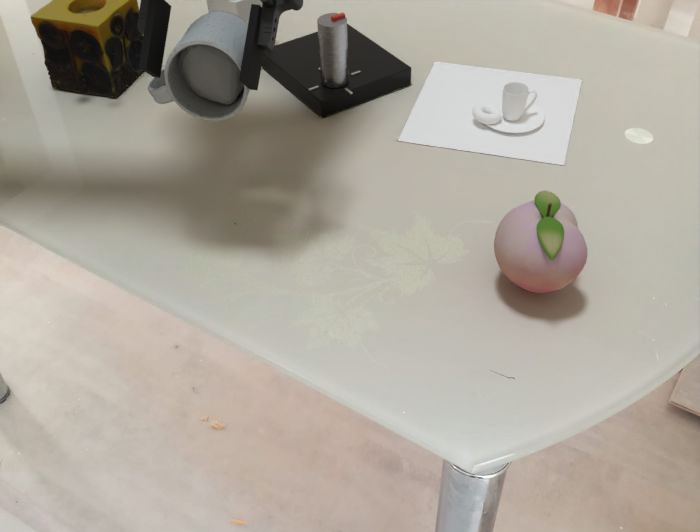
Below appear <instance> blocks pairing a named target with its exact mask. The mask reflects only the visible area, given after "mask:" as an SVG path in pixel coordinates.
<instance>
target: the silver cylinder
mask: <svg viewBox="0 0 700 532" xmlns="http://www.w3.org/2000/svg"><path fill="white" fill-rule="evenodd" d="M316 24H317V32H318V42H319V57H320V73H321V83H322V84H323V85H324V86H326V87H329V88H339V87H343V86H345V85H346V84H347V83H348V82H349V67H348V38H347V24H348V18H347V17H346V14H345V12H340V13H338V12H329V13H328V12H327V13H324V14H321V15H320V16H318V17H317V20H316Z"/></svg>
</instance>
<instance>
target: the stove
mask: <svg viewBox="0 0 700 532" xmlns="http://www.w3.org/2000/svg"><path fill="white" fill-rule="evenodd" d="M347 38H348V67H349V82H348V83H347V84H346V85H345V86H343V87H339V88H329V87H326V86H324V85H323V84H322V83H321V73H320V57H319V42H318V31H315V32H312V33H309V34H305V35H302V36H299V37H297V38H294V39H290V40H287V41H284V42H282V43H279V44H275V46H274V48H273V50H272V51H266V50H264V54H263V60H262V66H261V69H263V70H264V71H265V72H266V73H268V74H269V75H270V76H271V77H272V78H273V79H275V80H276V81H277V82H278V83H280V85H282V86H283V87H284V88H285V89H286V90H287V91H289V92H290V94H292V95H294V96H295V97H296V98H297V99H298V100H300V102H302V104H304V105H305V106H307V107H308V108H309V109H310V110H311V111H313V113H315V114H316V115H317V116H318V117H319V118H321V119H324V118H327V117H329V116H332V115H335V114H338V113H341V112H343V111H346V110H349V109H351V108H353V107H356V106H359V105H361V104H364V103H367V102H369V101H372V100H374V99H377V98H380V97H382V96H385V95H388V94H391V93H393V92H396V91H398V90H401V89H403V88H406V87H409V86H411V85H412V67H411V66H410V65H408V64H407V63H406V62H404V61H403V60H401V59H400V58H398V57H397V56H395V55H394V54H393V53H391V52H390V51H388V50H387V49H386V48H384V47H382V46H381V45H379V44H378V43H377V42H375V41H374V40H372V39H371V38H369V37H368V36H366V35H365V34H363V33H362V32H360V31H359V30H358V29H356V28H355V27H354V26H351V25H350V24H349V23H347Z"/></svg>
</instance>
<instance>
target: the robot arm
mask: <svg viewBox="0 0 700 532" xmlns="http://www.w3.org/2000/svg"><path fill="white" fill-rule="evenodd" d="M260 1H261V2H262V7H261V6H260V5H256V4H251V10H250V16H249V22H248V28H247V34H246V40H245V46H244V52H243V59H242V65H241V71H240V77H239V81H240V82H241V83H243V84H244V85H245V86H246V87H247V88H249V89H250V91H251V90H252V91H258V90H259V84H260V78H261V71H262V60H263V54H264V50H266V51H272V50H273V48H274V46H275V45H276V40H277V34H278V28H279V22H280V17H281V15H283V13H285V12H288V11H291V10H293V11H296V12H297V11H300V10H301V9H302V8H303V7H304V0H260ZM171 11H172V5H171V4H170V3H169V2H167V0H140V3H139V16H138V22H137V27H138V31H139V32H141V33H142V34H143V43H142V49H141V56H140V62H139V68H140V69H142V70H143V72H145V73H146V74H147V75H149V76H151V77H152V78H154V77H158V78H160V76H161V71H162V70H163V63H164V56H165V50H166V43H167V38H168V31H169V23H170V18H171V17H170V16H171Z"/></svg>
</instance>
